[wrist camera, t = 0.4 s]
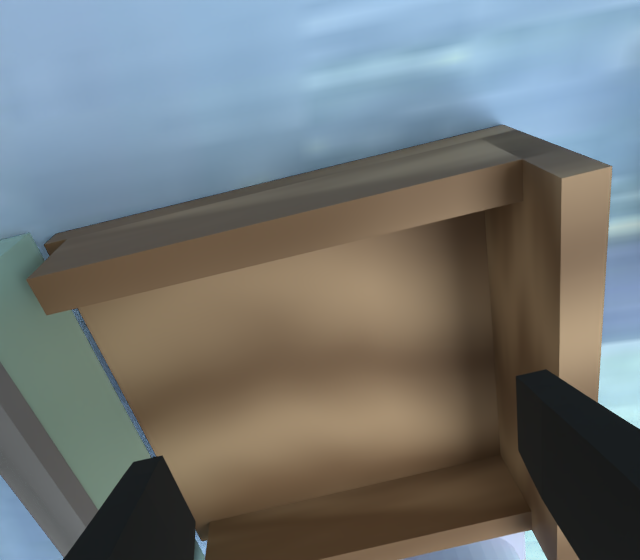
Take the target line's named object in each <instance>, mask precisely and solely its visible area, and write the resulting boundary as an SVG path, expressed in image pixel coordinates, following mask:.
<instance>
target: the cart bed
mask: <svg viewBox="0 0 640 560" xmlns="http://www.w3.org/2000/svg"><path fill="white" fill-rule="evenodd" d="M611 178H612V166H610V165H608V164H605V163H602V162H600V161H597V160H594V159H592V158H589V157H587V156H584V155H581V154H579V153H576V152H573V151H571V150H568V149H566V148H563V147H560V146H558V145H555V144H552V143H550V142H547V141H545V140H542V139H539V138H537V137H534V136H531V135H529V134H526V133H524V132H521V131H518V130H516V129H513V128H510V127H508V126H505V125H499V126H495V127H491V128H487V129H483V130H479V131H475V132H471V133H466V134H462V135H458V136H454V137H450V138H446V139H442V140H438V141H434V142H430V143H426V144H421V145H417V146H413V147H409V148H405V149H401V150H397V151H393V152H389V153H385V154H381V155H376V156H372V157H368V158H364V159H360V160H356V161H352V162H348V163H344V164H340V165H336V166H331V167H327V168H323V169H319V170H315V171H311V172H307V173H303V174H299V175H295V176H291V177H286V178H282V179H278V180H274V181H270V182H266V183H262V184H258V185H254V186H250V187H246V188H241V189H237V190H233V191H229V192H225V193H221V194H217V195H213V196H209V197H205V198H201V199H196V200H192V201H188V202H184V203H180V204H176V205H172V206H168V207H164V208H160V209H156V210H151V211H147V212H143V213H139V214H135V215H131V216H127V217H123V218H119V219H115V220H111V221H106V222H102V223H98V224H94V225H90V226H86V227H82V228H78V229H74V230H70V231H66V232H61V233H57V234H55V235H54V236H53V237H52V238H51V239H50V240H49V241H47V242H46V243H45V244H44V246H45V248H46V250H47V252H48V254H49V257H48V258H47V259H46V260H45V261H44V262H43V263H42V264H41V265H40V266H39V267H38V268H37V269H36V270H35V271H34V272H33V273H32V274H31V275H30V276H29V277H28V278H27V279H26V281H27V282H28V284H29V286H30V288H31V289H32V291H33V293H34V294H35V296H36V298H37V300H38V301H39V303H40V305H41V307H42V308H43V310H44V312H45V314H46V315H51V314H55V313H59V312H64V311H68V310H72V309H76V308H78V310H79V312H80V314H81V316H82V318H83V319H84V321H85V323H86V325H87V327H88V329H89V331H90V333H91V334H92V336H93V338H94V340H95V342H96V344H97V346H98V348H99V349H100V351H101V353H102V355H103V357H104V359H105V361H106V363H107V364H108V366H109V368H110V370H111V372H112V374H113V376H114V378H115V379H116V381H117V383H118V385H119V387H120V389H121V391H122V393H123V394H124V396H125V398H126V400H127V402H128V404H129V406H130V408H131V409H132V411H133V413H134V415H135V417H136V419H137V421H138V423H139V425H140V426H141V428H142V430H143V432H144V434H145V436H146V438H147V440H148V441H149V443H150V445H151V447H152V449H153V451H154V453H155V455H156V456H162V455H163V457H164V459H165V461H166V463H167V465H168V467H169V469H170V471H171V473H172V475H173V477H174V479H175V481H176V483H177V485H178V487H179V489H180V491H181V493H182V495H183V497H184V499H185V501H186V503H187V505H188V507H189V509H190V511H191V513H192V515H193V517H194V519H195V521H196V526H195V530H196V531H197V533H198V535H199V537H200V539H201V541H206V540H207V548H206V556H205V560H400V559H405V558H409V557H414V556H418V555H422V554H427V553H431V552H436V551H440V550H445V549H449V548H453V547H458V546H462V545H467V544H471V543H475V542H480V541H484V540H489V539H493V538H497V537H502V536H506V535H511V534H515V533H520V532H524V531H528V530H532V531H533V533H534V535H535V537H536V539H537V540H538V542H539V544H540V546H541V548H542V550H543V552H544V554H545V556H546V558H547V559H548V560H579V558H578V556H577V555H576V553H575V552H574V550H573V548H572V547H571V545H570V544H569V542H568V541H567V539H566V537H565V536H564V534H563V533H562V531H561V529H560V528H559V526H558V525H557V523H556V521H555V520H554V518H553V517H552V515H551V513H550V512H549V510H548V508H547V507H546V505H545V504H544V502H543V500H542V499H541V497H540V495H539V493H538V491H537V488H536V486H535V484H534V482H533V480H532V478H531V476H530V474H529V472H528V470H527V468H526V466H525V464H524V462H523V459H522V457H521V455H520V453H519V451H518V432H517V401H516V376H518V375H523V374H527V373H532V372H536V371H540V370H545V369H547V370H548V371H550V372H551V373H553V374H554V375H556V376H557V377H559V378H560V379H562V380H564V381H565V382H567V383H568V384H570V385H571V386H573V387H574V388H576V389H577V390H579V391H580V392H582V393H584V394H585V395H587V396H588V397H590V398H591V399H593V400H594V401H596V402H597V403H598V389H599V373H600V357H601V340H602V324H603V308H604V292H605V275H606V259H607V243H608V227H609V210H610V194H611Z"/></svg>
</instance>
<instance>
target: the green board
mask: <svg viewBox="0 0 640 560" xmlns="http://www.w3.org/2000/svg"><path fill="white" fill-rule="evenodd" d="M44 261H45V260H44V259H43V257H42V255H41V253H40V251H39V249H38V248H37V246H36V244H35V242H34V240H33V238H32V236H31V235H30V233H27V234H23V235H18V236H14V237H10V238H6V239H2V240H0V475H1V476H2V477H3V479H4V480H5V481H6V483H7V484H8V485H9V486H10V488H11V489H12V490H13V492H14V493H15V494H16V496H17V497H18V498H19V500H20V501H21V502H22V503H23V505H24V506H25V507H26V509H27V510H28V511H29V513H30V514H31V515H32V517H33V518H34V519H35V520H36V522H37V523H38V524H39V526H40V527H41V528H42V530H43V531H44V532H45V534H46V535H47V536H48V538H49V539H50V540H51V541H52V543H53V544H54V545H55V547H56V548H57V549H58V551H59V552H60V553H61V555H62V556H63V557H64V558H65V556H66V555H67V553H68V552H69V551H70V549H71V548H72V547H73V545H74V544H75V542H76V541H77V540H78V538H79V537H80V535H81V534H82V533H83V531H84V530H85V529H86V527H87V526H88V524H89V523H90V522H91V520H92V519H93V517H94V516H95V515H96V513H97V512H98V510H99V509H100V507H101V506H102V505H103V503H104V502H105V500H106V499H107V498H108V496H109V495H110V493H111V492H112V490H113V489H114V488H115V486H116V485H117V483H118V482H119V481H120V479H121V478H122V476H123V475H124V474H125V472H126V471H127V470H128V468H129V467H130V466H131V464H132V463H133V462H135V461H139V460H144V459H148V458H151V456H150V455H149V453H148V451H147V449H146V447H145V445H144V443H143V442H142V440H141V438H140V436H139V434H138V432H137V431H136V429H135V427H134V425H133V423H132V421H131V419H130V418H129V416H128V414H127V412H126V410H125V408H124V406H123V405H122V403H121V401H120V399H119V397H118V395H117V394H116V392H115V390H114V388H113V386H112V384H111V382H110V381H109V379H108V377H107V375H106V373H105V371H104V370H103V368H102V366H101V364H100V362H99V360H98V358H97V357H96V355H95V353H94V351H93V349H92V347H91V345H90V344H89V342H88V340H87V338H86V336H85V334H84V333H83V331H82V329H81V327H80V325H79V323H78V321H77V320H76V318H75V316H74V314H73V312H72V310H68V311H64V312H59V313H55V314H51V315H46V314H45V312H44V310H43V308H42V307H41V305H40V303H39V301H38V300H37V298H36V296H35V294H34V293H33V291H32V289H31V288H30V286H29V284H28V282H27V281H26V279H27V278H28V277H29V276H30V275H31V274H32V273H33V272H34V271H35V270H36V269H37V268H38V267H39V266H40V265H41V264H42V263H43V262H44ZM204 559H205V556H204V554H203V553H202V551H201V549H200V547H199V545H198V543H197V541H196V540H195V550H194V560H204Z"/></svg>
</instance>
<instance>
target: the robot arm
mask: <svg viewBox="0 0 640 560" xmlns="http://www.w3.org/2000/svg"><path fill="white" fill-rule="evenodd" d="M516 401H517V432H518V451H519V453H520V455H521V457H522V459H523V462H524V464H525V466H526V468H527V470H528V472H529V474H530V476H531V478H532V480H533V482H534V484H535V486H536V488H537V491H538V493H539V495H540V497H541V499H542V500H543V502H544V504H545V505H546V507H547V508H548V510H549V512H550V513H551V515H552V517H553V518H554V520H555V521H556V523H557V525H558V526H559V528H560V529H561V531H562V533H563V534H564V536H565V537H566V539H567V541H568V542H569V544H570V545H571V547H572V548H573V550H574V552H575V553H576V555H577V556H578V558H579V560H640V429H639V428H637V427H635V426H634V425H632V424H630V423H629V422H627V421H626V420H624V419H622V418H621V417H619V416H618V415H616V414H614V413H613V412H611V411H610V410H608V409H607V408H605V407H604V406H602V405H600V404H599V403H597V402H596V401H594V400H593V399H591V398H590V397H588V396H587V395H585V394H584V393H582V392H580V391H579V390H577V389H576V388H574V387H573V386H571V385H570V384H568V383H567V382H565V381H564V380H562V379H560V378H559V377H557V376H556V375H554V374H553V373H551V372H550V371H548V370H547V369H545V370H540V371H536V372H532V373H527V374H523V375H518V376H516ZM195 526H196V521H195V519H194V517H193V515H192V513H191V511H190V509H189V507H188V505H187V503H186V501H185V499H184V497H183V495H182V493H181V491H180V489H179V487H178V485H177V483H176V481H175V479H174V477H173V475H172V473H171V471H170V469H169V467H168V465H167V463H166V461H165V459H164V457H163V455H162V456H157V457H153V458H148V459H144V460H139V461H135V462H133V463H132V464H131V466H130V467H129V468H128V470H127V471H126V472H125V474H124V475H123V476H122V478H121V479H120V481H119V482H118V483H117V485H116V486H115V488H114V489H113V490H112V492H111V493H110V495H109V496H108V498H107V499H106V500H105V502H104V503H103V505H102V506H101V507H100V509H99V510H98V512H97V513H96V515H95V516H94V517H93V519H92V520H91V522H90V523H89V524H88V526H87V527H86V529H85V530H84V531H83V533H82V534H81V535H80V537H79V538H78V540H77V541H76V542H75V544H74V545H73V547H72V548H71V549H70V551H69V552H68V553H67V555H66V556H65V558H64V559H63V560H194V550H195ZM400 560H526V553H525V531H524V532H520V533H515V534H511V535H506V536H502V537H497V538H493V539H489V540H484V541H480V542H475V543H471V544H467V545H462V546H458V547H453V548H449V549H445V550H440V551H436V552H431V553H427V554H422V555H418V556H414V557H409V558H405V559H400Z"/></svg>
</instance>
